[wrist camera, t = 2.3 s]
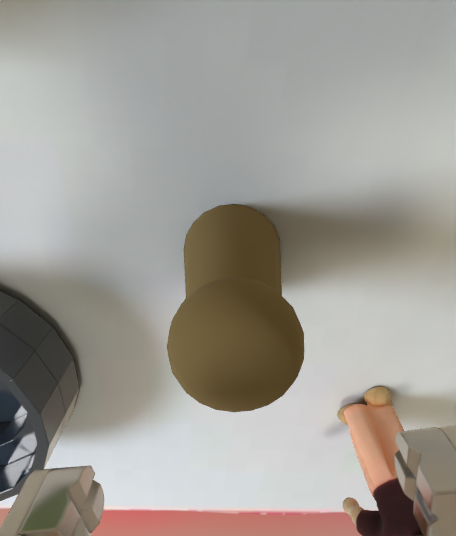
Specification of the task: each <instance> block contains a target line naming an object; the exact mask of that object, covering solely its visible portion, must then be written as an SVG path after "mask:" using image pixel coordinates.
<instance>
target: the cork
mask: <svg viewBox="0 0 456 536" xmlns="http://www.w3.org/2000/svg"><path fill="white" fill-rule="evenodd" d="M184 264H185V285H186V299H185V301H184V302H183V303H182V304H181V306H180V308H179V309H178V311H177V313H176V315H175V316H174V318H173V320H172V323H171V326H170V331H169V337H168V344H167V349H168V356H169V361H170V365H171V369H172V373H173V374H174V376H175V377H176V379H177V380H178V381H179V383H180V384H181V386H182V387H183V389H184V390H185V391H186V393H188V394H189V395H190V396H191V397H193V398H194V399H195V400H197V401H198V402H199V403H201V404H204V405H206V406H209V407H211V408H213V409H216V410H223V411H230V412H240V411H251V410H254V409H257V408H260V407H263V406H266V405H269V404H270V403H272V402H274V401H275V400H277V399H278V398H280V397H281V396H283V395H284V393H285V392H286V391H287V390H288V389H289V387H290V386H291V385H292V384H293V382H294V381H295V379H296V378H297V376H298V374H299V371H300V368H301V366H302V363H303V360H304V333H303V330H302V327H301V324H300V322H299V320H298V318H297V315H296V313H295V311H294V309H293V307H292V306H291V305H290V304H289V303H288V302H287V301H286V300H285V299H284V298H283V297H282V288H281V251H280V239H279V236H278V234H277V231H276V229H275V227H274V225H273V224H272V223H271V222H270V221H269V220H268V219H267V217H266V216H265V215H263V214H262V213H260V212H258V211H256V210H255V209H253V208H251V207H247V206H242V205H236V204H232V205H223V206H218V207H215V208H213V209H211V210H209V211H207V212H204V213H203V214H202V215H201V216H200V217H199V218H198V219H197V220H196V221H195V222H194V223H193V224H192V226H191V228H190V229H189V231H188V233H187V235H186V239H185V246H184Z"/></svg>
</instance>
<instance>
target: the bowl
mask: <svg viewBox="0 0 456 536" xmlns="http://www.w3.org/2000/svg"><path fill="white" fill-rule="evenodd" d="M78 390H79V383H78V379H77V374H76V369H75V364H74V359H73V357H72V355H71V354H70V352H69V351H68V349H67V348H66V346H65V345H64V343H63V342H62V340H61V339H60V337H59V336H58V334H57V333H56V331H55V330H54V328H52V326H51V325H49V324H48V323H47V322H46V321H45V320H43V319H42V318H41V317H40V316H38V315H37V314H36V313H35V312H34V311H32V310H31V309H30V308H29V307H27V306H26V305H25V304H24V303H23V302H21V301H19V300H18V299H16V298H13V297H11V296H9V295H7V294H5V293H2V292H0V501H2V500H5V499H7V498H9V497H12V496H14V495H17V494H19V493H20V491H21V489H22V487H23V485H24V483H25V482H26V480H27V478H28V476H29V475H30V474H31V473H32V472H33V471H34V470H43V469H44V468H45V466H46V464H47V462H48V460H49V458H50V456H51V454H52V452H53V450H54V448H55V446H56V444H57V442H58V440H59V438H60V436H61V434H62V432H63V430H64V428H65V426H66V424H67V422H68V420H69V418H70V416H71V414H72V412H73V408H74V405H75V401H76V397H77V394H78Z"/></svg>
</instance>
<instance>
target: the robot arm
mask: <svg viewBox="0 0 456 536" xmlns="http://www.w3.org/2000/svg"><path fill="white" fill-rule="evenodd" d="M395 442H396V444H397V446H398V448H399V450H398V451H397V452H396V453H395V462H394V463H395V468H396V473H397V477H398V480H399V482H400V485H401V487H402V490H403V492H404V494H405V495H406V496H407V497H409V498H410V499H411V500H412V501H414V510H413V514H414V516H415V518H416V520H417V522H418V525H419V527H420V529H421V531H422V533H423V535H424V536H456V426H447V427H439V428H437V427H433V428H425V429H417V430H409V431H401V432H398V433H397V434H396V441H395ZM94 475H95V472H94V470H93V468H92V467H91V466H79V467H66V468H53V469H43V470H34V471H33V472H32V473H31V474H30V475H29V476H28V478H27V480H26V482H25V483H24V485H23V487H22V489H21V491H20V493H19V494H18V496H17V498H16V500H15V502H14V504H13V505H12V507H11V509H10V511H9V513H8V515H7V517H6V518H5V520H4V522H3V524H2V526H1V528H0V536H91V533H92V532H93V530H94V529H95V528H96V527H97V526H98V525H99V523H100V520H101V517H102V513H103V507H104V494H103V489H102V487H101V485H100V484H99V483H97V482H96V481H94V480H93V478H94Z"/></svg>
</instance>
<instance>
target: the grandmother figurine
mask: <svg viewBox="0 0 456 536" xmlns="http://www.w3.org/2000/svg"><path fill="white" fill-rule="evenodd" d="M364 401H365V402H366V404H367V405H363V404H348V405H346V406H344V407H343V408H341V409H340V410H339V412H338V417H339V419H340V420H341V421H342V422H343V423H345V424H347V425H348V426H349V428H350V434H351V438H352V442H353V445H354V448H355V451H356V454H357V457H358V460H359V463H360V465H361V468H362V470H363V473H364V476H365V479H366V481H367V484H368V487H369V490H370V492H371V494H372V495H373V497H374V499H375V500H376V502H377V507H378V509H379V511H369V510H364V509H363V508H361V507H359V504H358V502H357V501H356V500H355V499H353V498H346V499H345V500H344V501H343V509H344V511H345V512H346V513H347V514H348V515H350V516H351V519H352V521H353V522H354V523H355V525H356V526H357V530H358V532H359V533H360V534H361V535H362V536H424V535H423V533H422V531H421V529H420V527H419V525H418V522H417V520H416V518H415V516H414V514H413V510H414V501H412V500H411V499H410V498H409V497H407V496H406V495H405V494H404V492H403V490H402V487H401V485H400V482H399V480H398V477H397V473H396V468H395V463H394V462H395V453H396V452H397V451H398V450H399V448H398V446H397V444H396V442H395V441H396V434H397V433H398V432H401V431H404V429H403V427H402V425H401V423H400V421H399V419H398V417H397V415H396V413H395V410H394V409H393V407H392V400H391V396H390V392H389V390H388V389H386V388H385V387H375V388H372V389H370V390H368V391H367V392H366V393H365V395H364Z"/></svg>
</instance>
